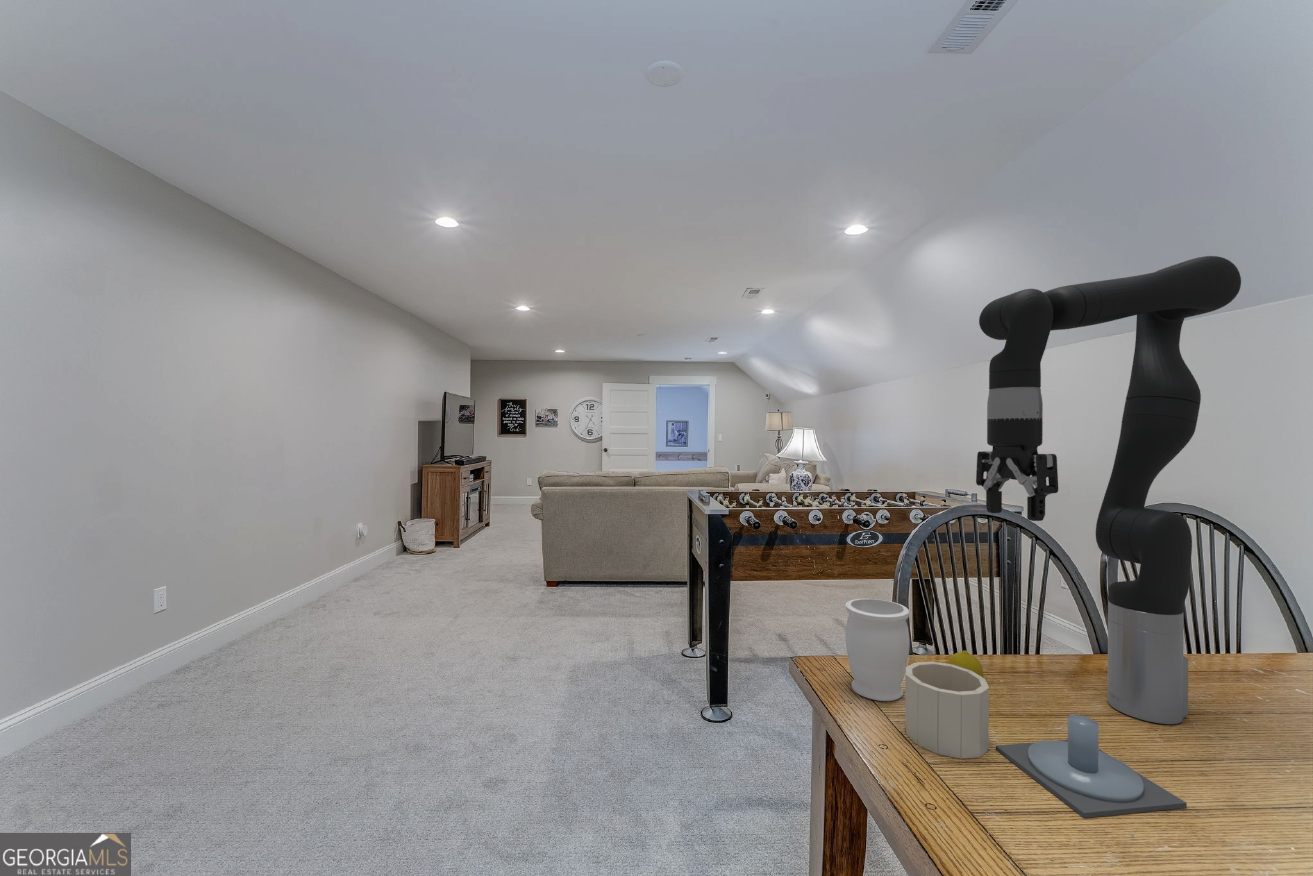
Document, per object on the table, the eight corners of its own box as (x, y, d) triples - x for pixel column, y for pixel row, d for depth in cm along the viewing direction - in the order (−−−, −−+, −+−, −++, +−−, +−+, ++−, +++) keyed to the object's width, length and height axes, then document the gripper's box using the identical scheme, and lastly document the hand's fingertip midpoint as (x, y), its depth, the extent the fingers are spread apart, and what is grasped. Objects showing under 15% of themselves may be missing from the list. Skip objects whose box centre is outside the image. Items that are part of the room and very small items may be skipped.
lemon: (989, 706, 90) (989, 658, 90) (952, 703, 91) (953, 656, 91) (976, 691, 96) (976, 646, 96) (942, 688, 97) (942, 643, 97)
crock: (954, 715, 87) (954, 660, 87) (1005, 755, 77) (1005, 691, 76) (891, 720, 86) (891, 663, 86) (934, 761, 75) (935, 696, 75)
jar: (876, 710, 89) (876, 619, 89) (832, 684, 98) (832, 601, 98) (923, 698, 93) (923, 611, 93) (876, 673, 103) (876, 595, 103)
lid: (1082, 743, 79) (1082, 696, 78) (1170, 798, 67) (1170, 743, 67) (1007, 749, 77) (1007, 701, 77) (1083, 806, 65) (1084, 750, 65)
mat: (1082, 742, 80) (1082, 738, 80) (1186, 807, 66) (1186, 802, 66) (995, 749, 78) (995, 745, 78) (1084, 818, 64) (1084, 813, 64)
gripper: (1073, 415, 81) (1073, 523, 81) (1001, 418, 95) (1001, 510, 95) (1028, 415, 80) (1028, 524, 80) (962, 418, 94) (962, 510, 95)
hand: (1013, 516), depth 88 cm, fingers open, 8 cm apart
